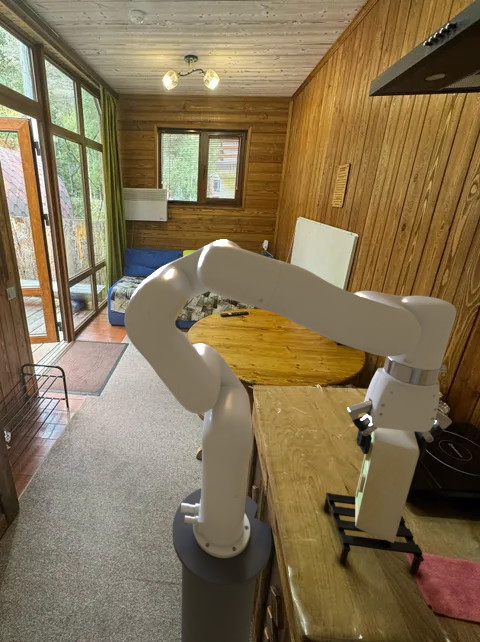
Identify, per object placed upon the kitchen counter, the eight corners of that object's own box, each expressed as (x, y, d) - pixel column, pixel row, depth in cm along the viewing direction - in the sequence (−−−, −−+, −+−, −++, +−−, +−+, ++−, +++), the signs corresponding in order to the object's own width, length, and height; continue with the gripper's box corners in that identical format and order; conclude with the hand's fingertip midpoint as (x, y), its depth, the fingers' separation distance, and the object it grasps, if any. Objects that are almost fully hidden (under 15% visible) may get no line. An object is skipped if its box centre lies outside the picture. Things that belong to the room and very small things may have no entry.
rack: (340, 564, 59) (344, 546, 58) (323, 507, 70) (326, 490, 69) (418, 575, 58) (425, 557, 56) (387, 515, 69) (392, 498, 67)
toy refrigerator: (351, 494, 67) (369, 413, 61) (390, 509, 64) (414, 425, 58) (350, 525, 60) (371, 438, 54) (393, 544, 57) (421, 453, 51)
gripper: (450, 362, 55) (426, 441, 60) (348, 355, 57) (333, 432, 62) (483, 385, 47) (452, 473, 53) (365, 376, 49) (346, 461, 55)
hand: (388, 451), depth 57 cm, fingers closed on toy refrigerator, 8 cm apart
